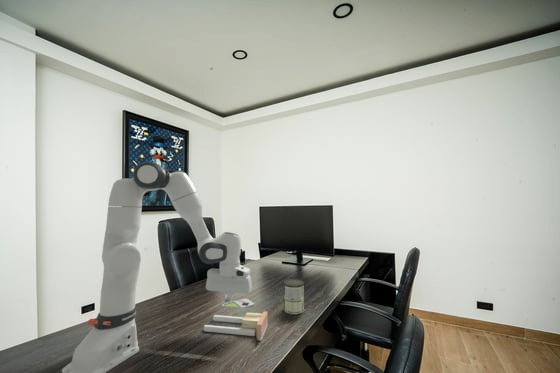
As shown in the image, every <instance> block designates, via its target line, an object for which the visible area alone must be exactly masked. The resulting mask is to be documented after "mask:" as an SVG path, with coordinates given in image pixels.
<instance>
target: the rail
mask: <svg viewBox="0 0 560 373" xmlns="http://www.w3.org/2000/svg"><path fill="white" fill-rule="evenodd" d="M261 314H262V315H261V317H260V319H259V321H258V323H257V334H255V329H245V328H242V319H243V318H244V316H231V315H222V314H221V315H220V314H215V315H213V318H212V320H211V322H208V324H205V325H204V326H203V330H201V332H202V333H204V332H205V333H212V334H221V335H224V334H225V335H230V336H231V335H232V336H233V335H235V336H239V337H241V336H242V337H244V336H245V337H253V338H256V341H262V340H263V339H264V338H263V337H264V334H265V332H266V330H267V328H268V325H269V324H268V323H269V321H268V319H269V318H268V317H269V312H268V311H266V310H265V311H264V310H263V312H262V313H261Z"/></svg>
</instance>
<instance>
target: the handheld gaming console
mask: <svg viewBox="0 0 560 373" xmlns="http://www.w3.org/2000/svg"><path fill="white" fill-rule="evenodd" d="M222 306H223V307H234V308H247V309H248V308H252V307H255V302H253V301H251V300H250V299H248V298H241V299H238V300H233V301H232V302H231V303H227V302H224V303H222V304H221V307H222Z"/></svg>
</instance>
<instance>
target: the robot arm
mask: <svg viewBox="0 0 560 373" xmlns="http://www.w3.org/2000/svg"><path fill="white" fill-rule="evenodd" d="M112 184H113V185H112V187H111V190H110V194H109V197H108V198H109V199H108V206H107V214H106V216H107V217H106V225H105V232H104V239H103V245H102V253H101V261H102V263H103V275H102V276H103V277H102V281H101V282H102V283H101V290H100V301H99V312H98V314H97V316H96V318H95V319H94V318H89V319H88V321H87V326H91V327H93V328H92V329H91V330H90V332H89V331H88V332H89V333H87V335H86V336H85V337H84V338H83V340H82V341H81V342H80V343H79V344H78V345H77V346H76V348H75V349H74V351H73V354H72V360H71V361H70V363H68V364H66V366H63V368H62V369H61V372H62V373H107V372H109V371H110V370H112V369H113V368H115V367H116V366H118V365H119V364H122V363H123V362H125V361H126V360H127V359H130V357H132V356H134V355H136V354H137V353H139V352H140V347H139V345H138V344H139V341H138V332H137V330H138V329H137V324H136V317H137V306H136V294H137V292H136V291H137V282H138V278H139V274H140V273H139V272H140V266H141V260H142V259H141V258H142V257H141V253H140V251H139V249H138V248H137V241H138V236H139V231H140V228H141V221H142V208H143V198H144V196H145V194H148V193H151V192H152V193H153V192H158V191H160V190H162V191H164V192H165V193H166V194H167V196H168V198H169V200H170V202H171V204H172V206H173V208H174V210H175V211H176V212H177V213H178V215H179V216H180V217H181V218H182V219H183V220H184V221H186V222H187V224H188V225H189V227H190V228H191V231H192V232H193V235H194V237H195V239H196V243H197V245H196V247H197V249H196V250H197V251H196V252H197V254H198V257H199V259H200V260H201V262H203V263H204V264H207V265H213V264H218V263H219V268H214V267H213V268H212V267H211V268H210V269H208V270H207V274H206V276H207V278H206V281H205V282H206V283H205V289H206V290H207V291H209V292H221V295H222V297H223V302H224V303H231V302H233V301H232V300H233V297H234V296H235V294H240V295H241V294H243V295H249V294H250V293H251V291H252V289H253V288H252V286H253V282H252V277H251V275H250V273H251V269H250V268H249V267H246V266H244V265H241V260H240V259H241V257H240V256H241V252H242V244H241V242H242V241H241V237H240V236H239V234H237V233H234V232H230V231H229V232H228V231H225V232H223V233H222V234H220V235H219V236H217V237H213V236H212V235H211V233H210V232H209V230H208V228H207V224H206V223H205V220H204V217H203V205H202V200H201V198H200V194H199V193H198V190H197V188H196V186H195V185H194V183H193V181H192V180H191V178H190V177H189V175H188V174H187V173H186V172H184V171H173V172H169V171H168V170H167V169H166V168H164V167H163V166H161V165H160V164H159V163H156V162H153V161H144V162H141V163H139V164H138V165H136V167H135V168H134V170H133V174H132V177H131V178H126V177H125V178H120V179H117V180H116V181H115V182H114V183H112ZM227 293H229V295H230V296H229V297H228V295H227Z"/></svg>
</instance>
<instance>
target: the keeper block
mask: <svg viewBox="0 0 560 373" xmlns="http://www.w3.org/2000/svg"><path fill="white" fill-rule="evenodd" d="M261 315H262V313H259V312H258V313H257V312H246V313H245V315H244V316H243V317H244V318H243V319H242V326H241V328H245V329H255V334H256V335H257V323H258V321H259V319H260V317H261Z"/></svg>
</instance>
